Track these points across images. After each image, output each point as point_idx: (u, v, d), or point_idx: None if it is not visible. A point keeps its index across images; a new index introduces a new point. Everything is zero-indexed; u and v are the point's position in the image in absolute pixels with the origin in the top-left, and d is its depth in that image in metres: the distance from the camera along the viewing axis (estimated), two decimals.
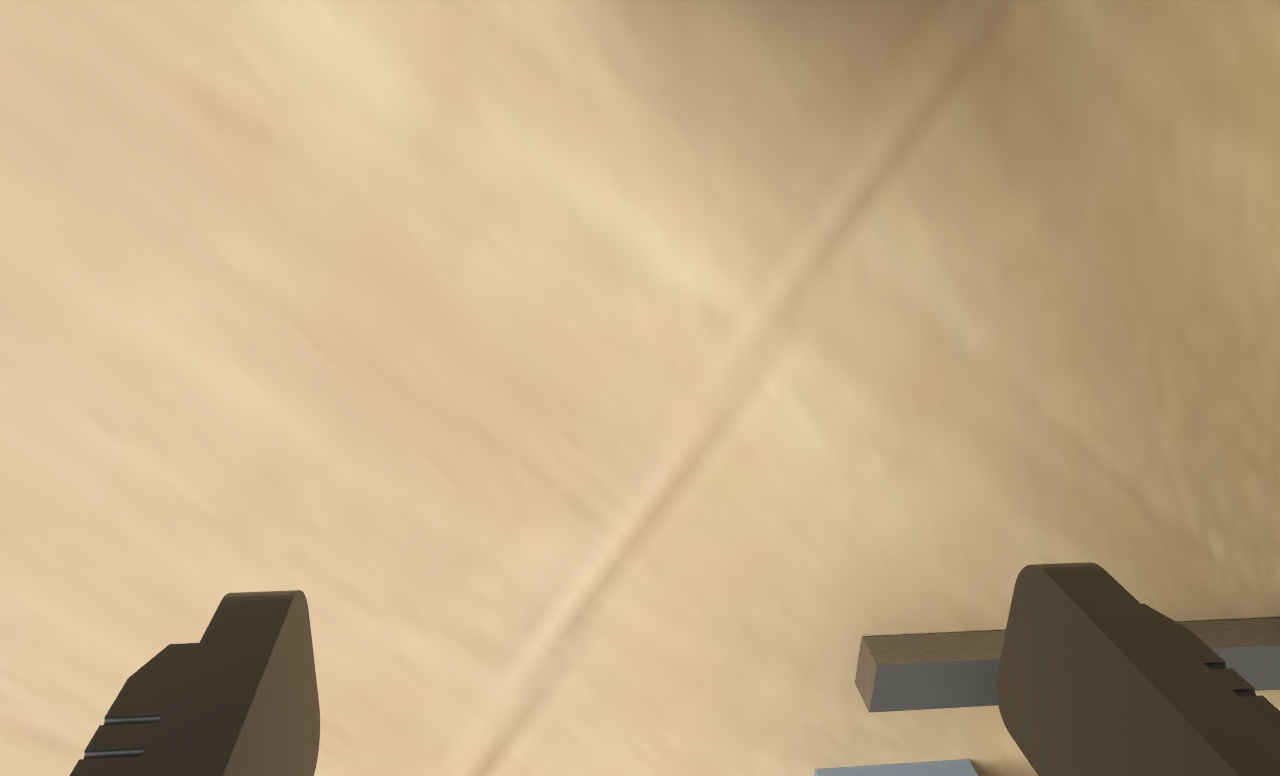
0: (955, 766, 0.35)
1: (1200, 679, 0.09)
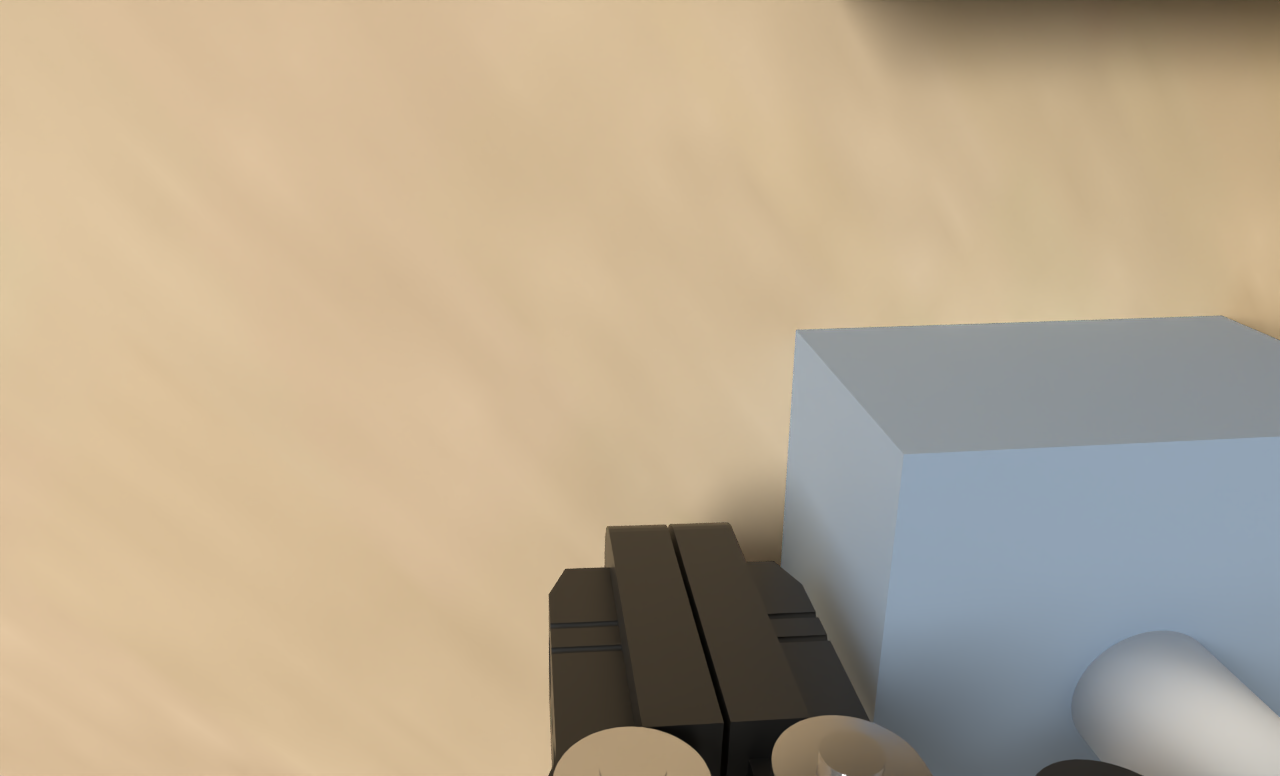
0: (1190, 323, 0.13)
1: (750, 622, 0.09)
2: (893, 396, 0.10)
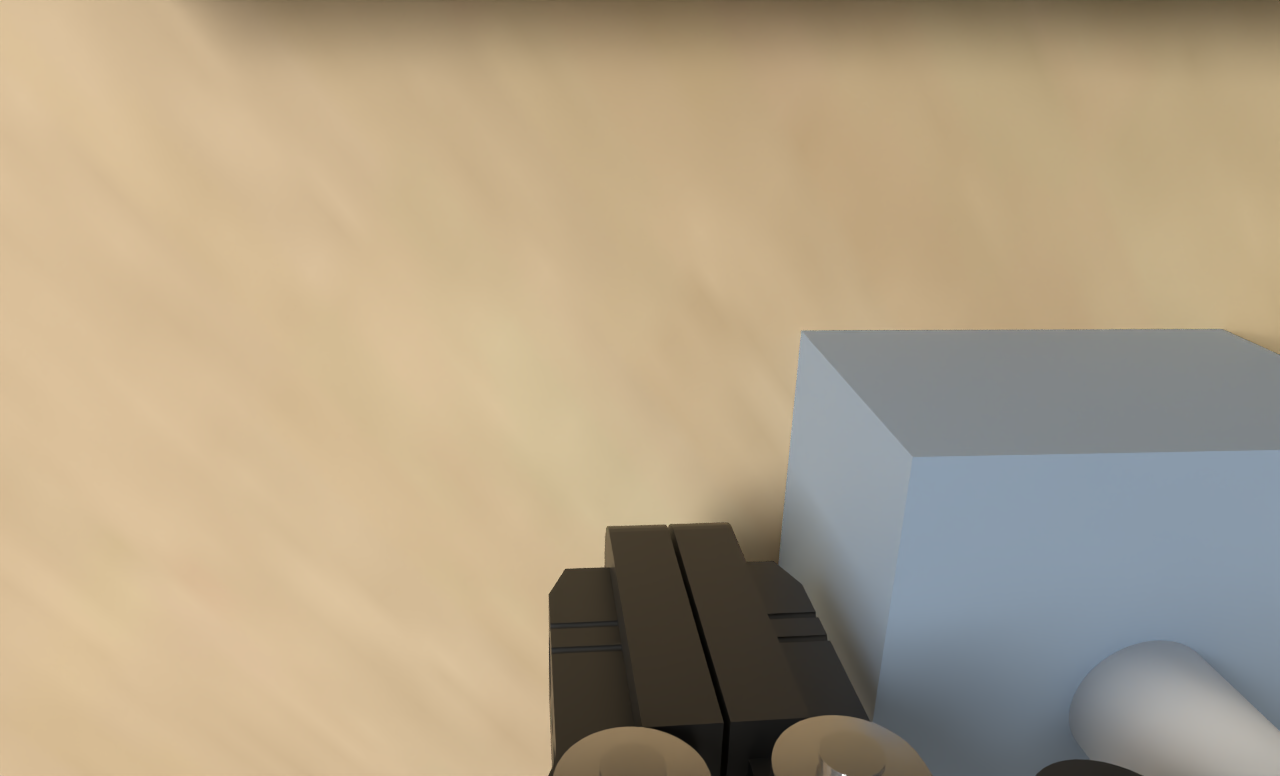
0: (1194, 336, 0.13)
1: (751, 622, 0.09)
2: (900, 400, 0.10)
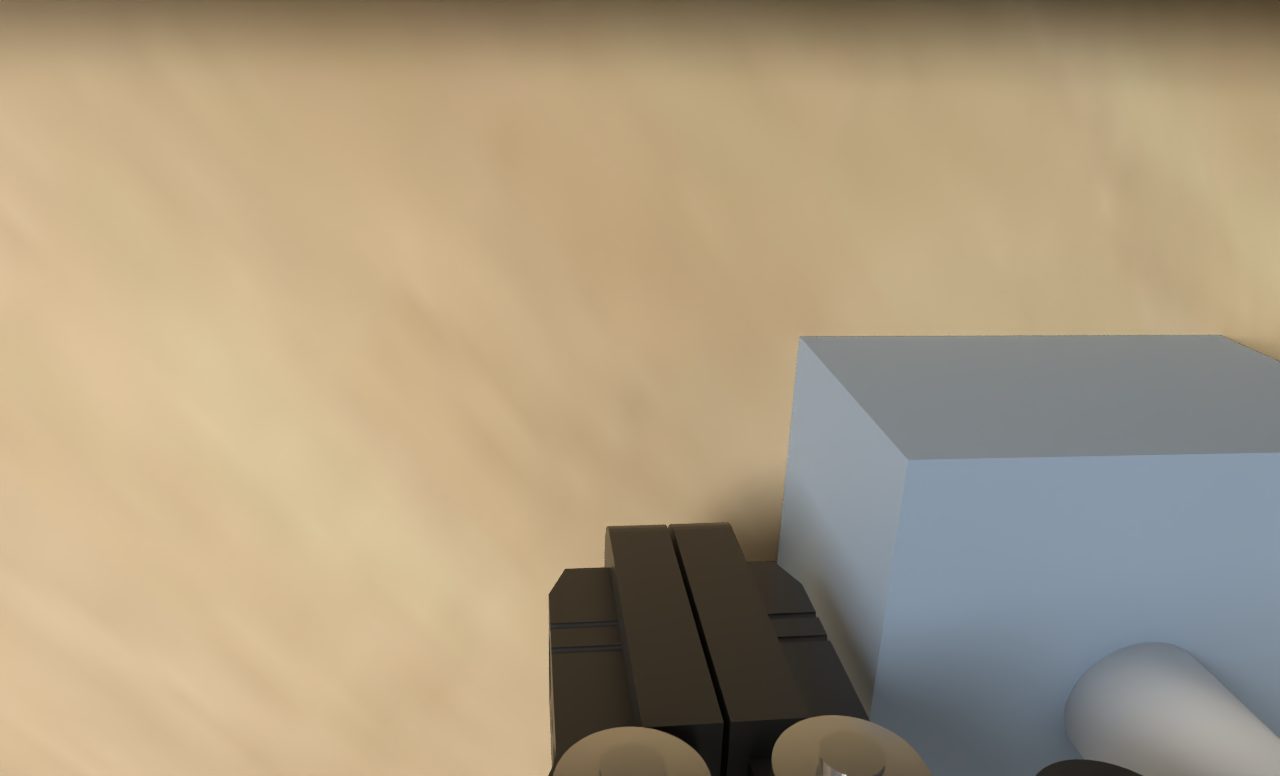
0: (1187, 340, 0.13)
1: (750, 622, 0.09)
2: (896, 402, 0.10)
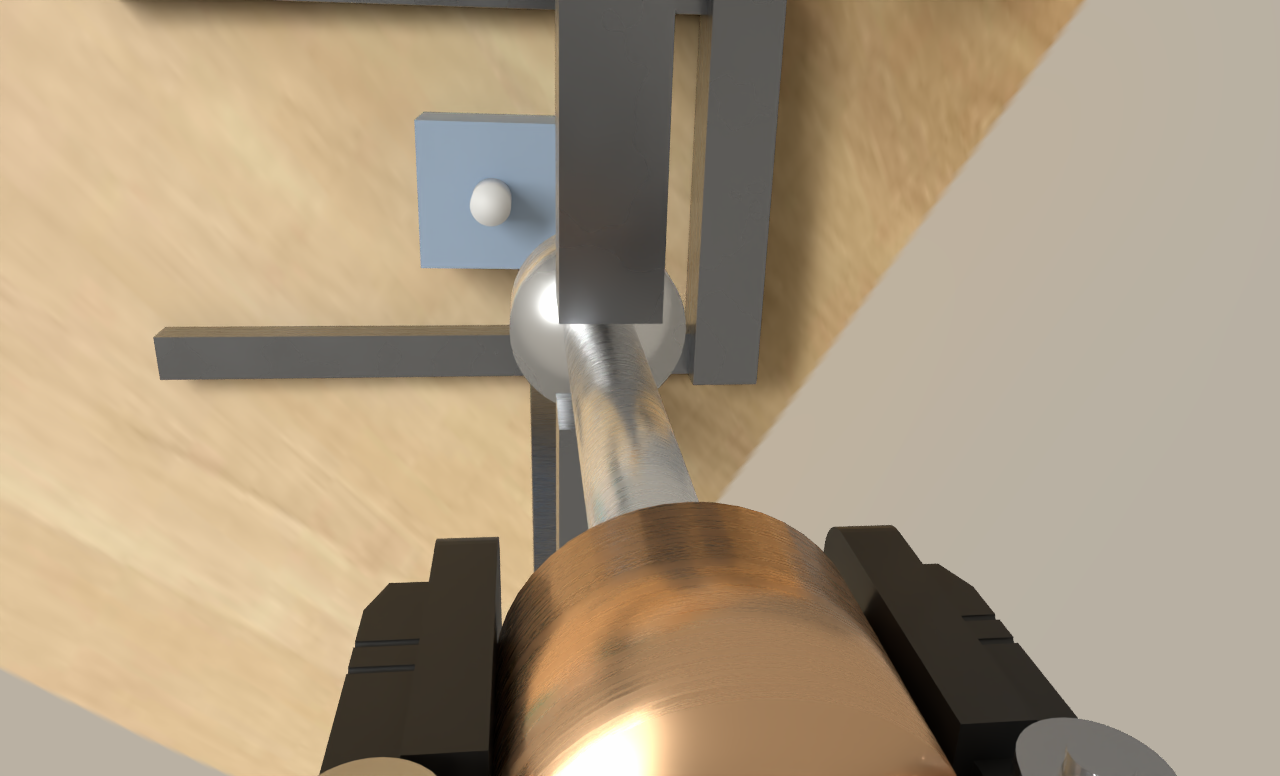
0: (547, 116, 0.41)
1: (948, 625, 0.09)
2: (428, 117, 0.39)
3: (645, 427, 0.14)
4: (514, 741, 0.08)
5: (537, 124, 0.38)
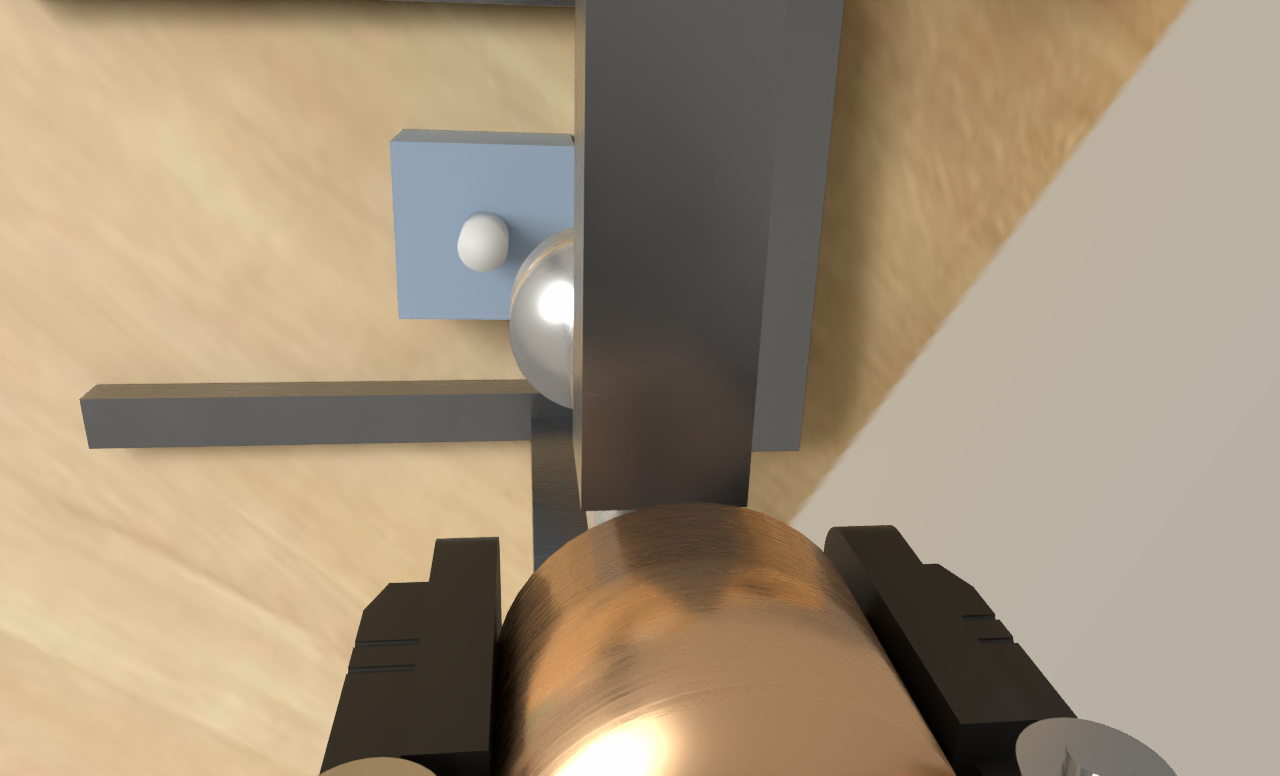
0: (552, 134, 0.34)
1: (948, 625, 0.09)
2: (408, 136, 0.32)
3: None
4: (514, 742, 0.08)
5: (540, 146, 0.31)
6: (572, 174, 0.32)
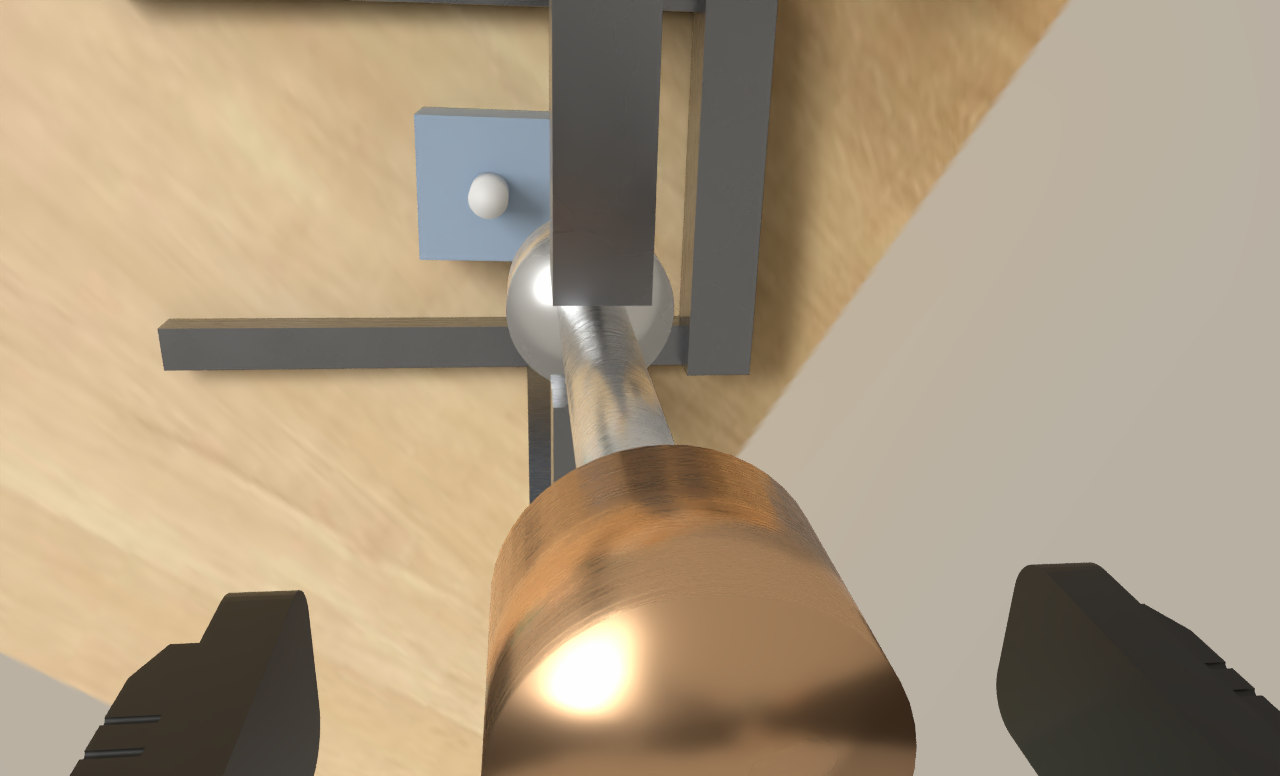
0: (544, 111, 0.42)
1: (1200, 679, 0.09)
2: (428, 111, 0.40)
3: (632, 392, 0.15)
4: (508, 643, 0.09)
5: (534, 119, 0.39)
6: None
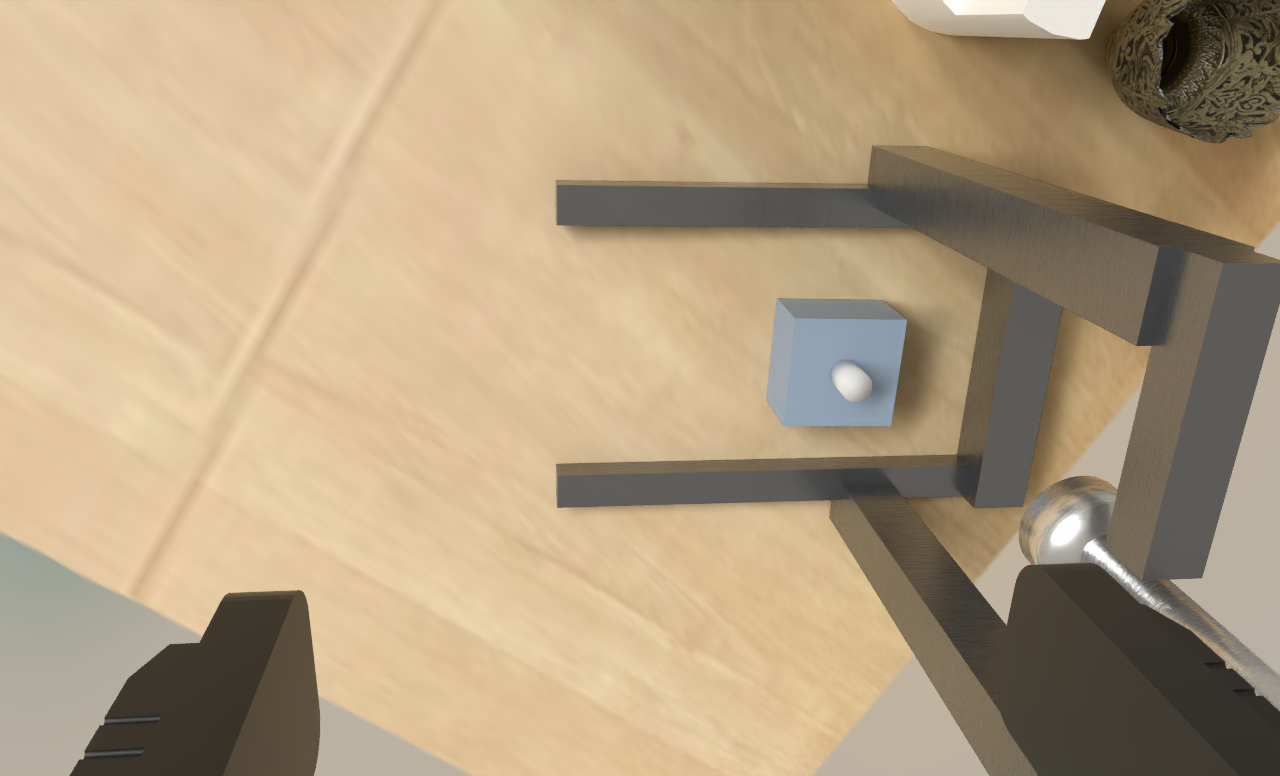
0: (872, 301, 0.52)
1: (1200, 679, 0.09)
2: (795, 310, 0.50)
3: (1269, 670, 0.25)
4: None
5: (886, 320, 0.49)
6: (903, 336, 0.49)
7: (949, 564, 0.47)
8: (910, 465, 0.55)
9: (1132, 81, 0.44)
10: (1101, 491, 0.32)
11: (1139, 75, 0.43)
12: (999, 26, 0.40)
